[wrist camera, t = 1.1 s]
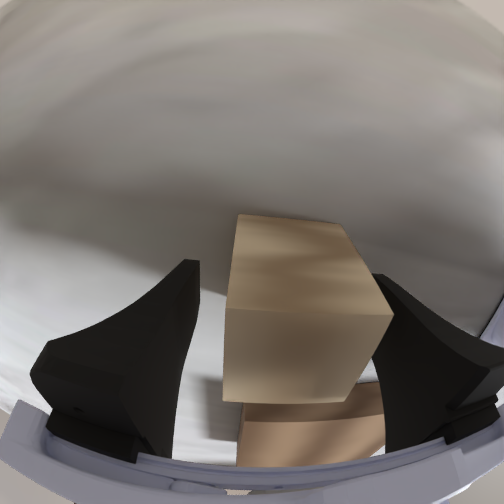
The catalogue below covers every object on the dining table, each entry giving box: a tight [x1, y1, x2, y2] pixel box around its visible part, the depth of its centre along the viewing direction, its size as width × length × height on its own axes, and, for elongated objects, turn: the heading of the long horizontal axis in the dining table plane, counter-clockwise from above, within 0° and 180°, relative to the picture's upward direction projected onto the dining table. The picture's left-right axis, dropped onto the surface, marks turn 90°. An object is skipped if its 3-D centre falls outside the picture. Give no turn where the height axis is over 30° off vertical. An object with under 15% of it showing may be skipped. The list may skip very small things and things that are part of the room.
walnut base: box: [236, 382, 385, 467], centre depth 20 cm, size 14×12×3 cm
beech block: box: [223, 214, 394, 404], centre depth 10 cm, size 4×4×6 cm
